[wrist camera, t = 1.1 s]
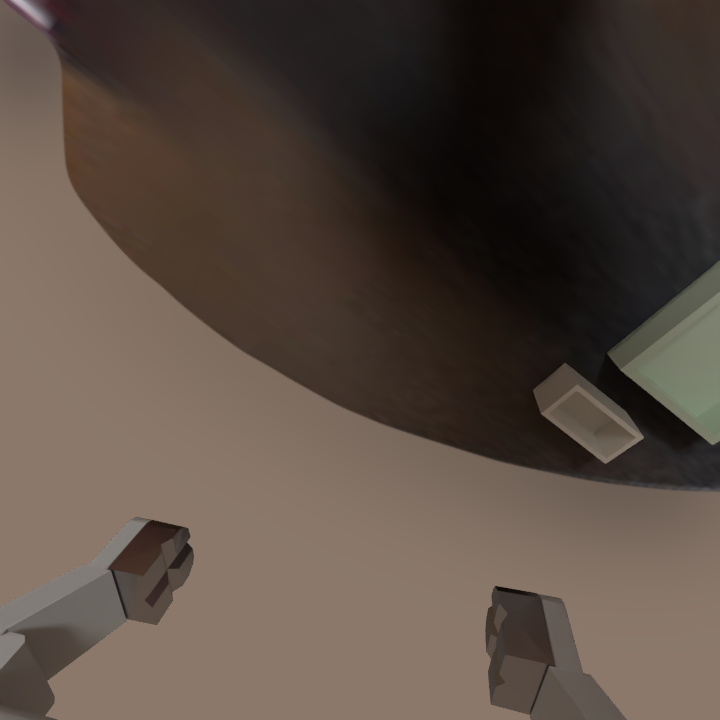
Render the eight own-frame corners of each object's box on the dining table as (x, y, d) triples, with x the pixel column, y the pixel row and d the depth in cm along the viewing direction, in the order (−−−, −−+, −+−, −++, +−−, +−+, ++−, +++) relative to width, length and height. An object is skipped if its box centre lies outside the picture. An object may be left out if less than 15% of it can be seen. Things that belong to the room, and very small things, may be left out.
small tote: (565, 362, 45) (577, 384, 40) (625, 411, 46) (644, 437, 41) (532, 390, 47) (540, 413, 42) (591, 436, 48) (605, 463, 43)
